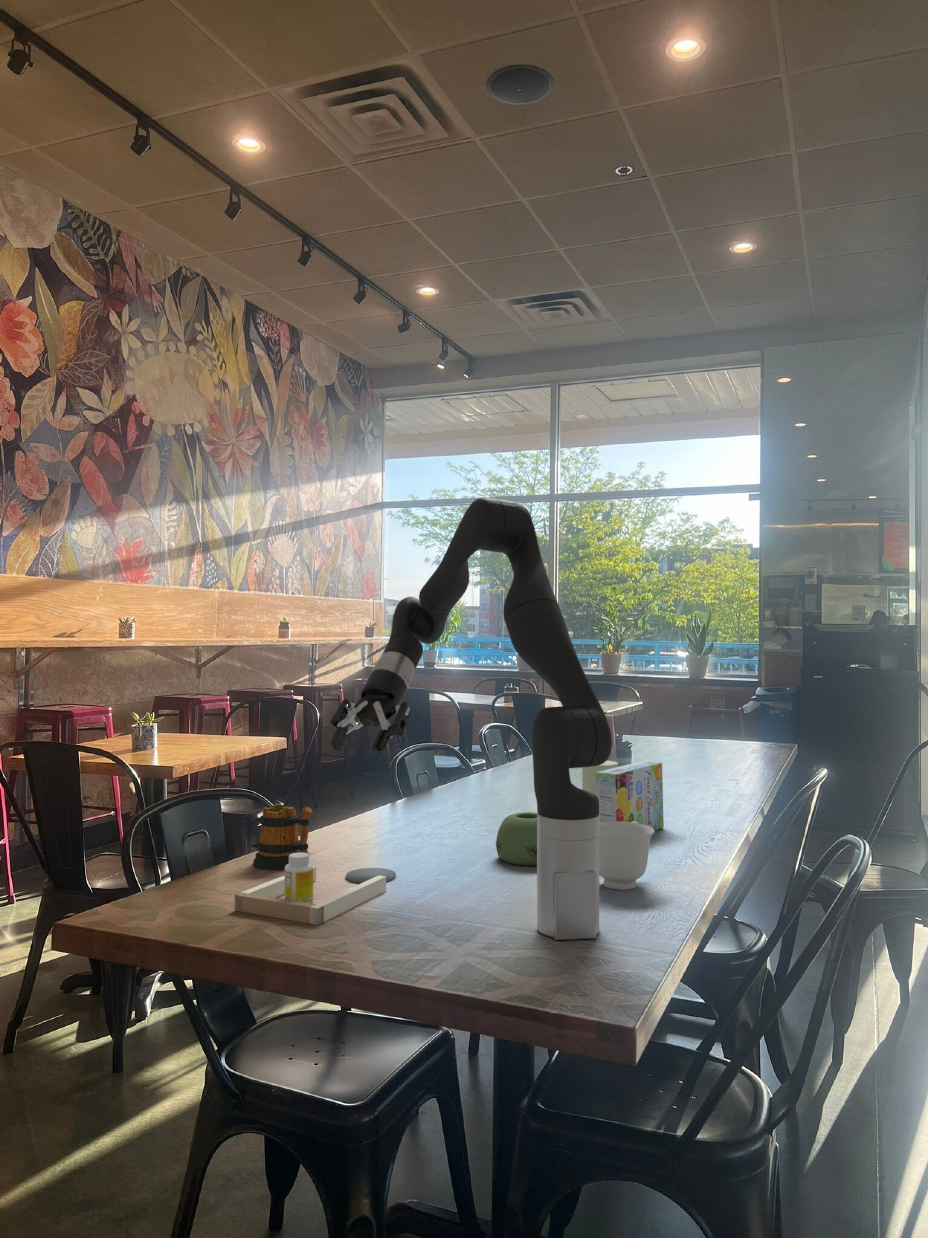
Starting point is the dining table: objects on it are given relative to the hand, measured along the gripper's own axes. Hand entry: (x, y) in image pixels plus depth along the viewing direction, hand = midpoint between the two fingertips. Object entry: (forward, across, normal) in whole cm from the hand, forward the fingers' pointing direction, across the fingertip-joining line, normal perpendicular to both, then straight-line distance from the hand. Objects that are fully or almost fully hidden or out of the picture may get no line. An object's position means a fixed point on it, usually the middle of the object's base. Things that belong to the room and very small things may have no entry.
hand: (355, 749), depth 158 cm
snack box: (-26, +33, +60) cm, 73 cm away
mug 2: (-5, +21, +39) cm, 45 cm away
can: (-44, +18, +78) cm, 91 cm away
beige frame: (+25, -1, +9) cm, 26 cm away
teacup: (+2, +42, +32) cm, 53 cm away
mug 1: (+13, -19, +21) cm, 31 cm away
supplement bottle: (+28, -1, +6) cm, 28 cm away
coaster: (+13, 0, +20) cm, 24 cm away
